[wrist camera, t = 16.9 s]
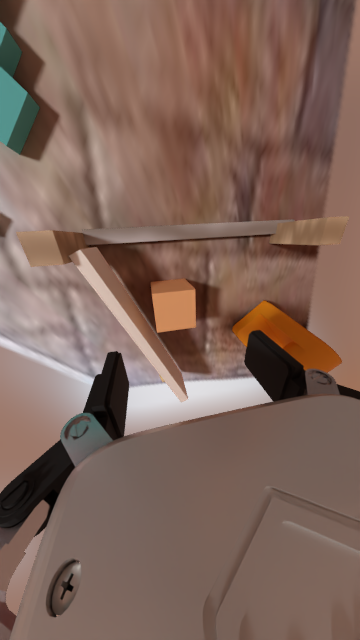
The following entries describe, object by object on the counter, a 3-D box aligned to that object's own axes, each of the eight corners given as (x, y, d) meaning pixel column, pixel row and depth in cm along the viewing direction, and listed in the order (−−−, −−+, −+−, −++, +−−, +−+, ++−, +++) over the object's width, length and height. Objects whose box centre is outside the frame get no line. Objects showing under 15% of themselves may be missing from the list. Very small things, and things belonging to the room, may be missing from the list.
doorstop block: (150, 281, 24) (151, 293, 19) (184, 278, 25) (195, 289, 19) (154, 313, 26) (157, 332, 21) (185, 309, 27) (195, 327, 21)
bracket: (228, 326, 30) (273, 375, 19) (260, 298, 28) (329, 334, 18) (255, 357, 34) (304, 410, 24) (285, 334, 33) (350, 380, 23)
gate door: (96, 246, 19) (80, 249, 15) (181, 373, 30) (188, 398, 25) (80, 255, 19) (58, 261, 15) (170, 378, 30) (175, 405, 26)
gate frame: (61, 231, 19) (13, 226, 12) (289, 220, 24) (350, 212, 16) (70, 257, 21) (31, 266, 14) (284, 242, 25) (339, 243, 18)
